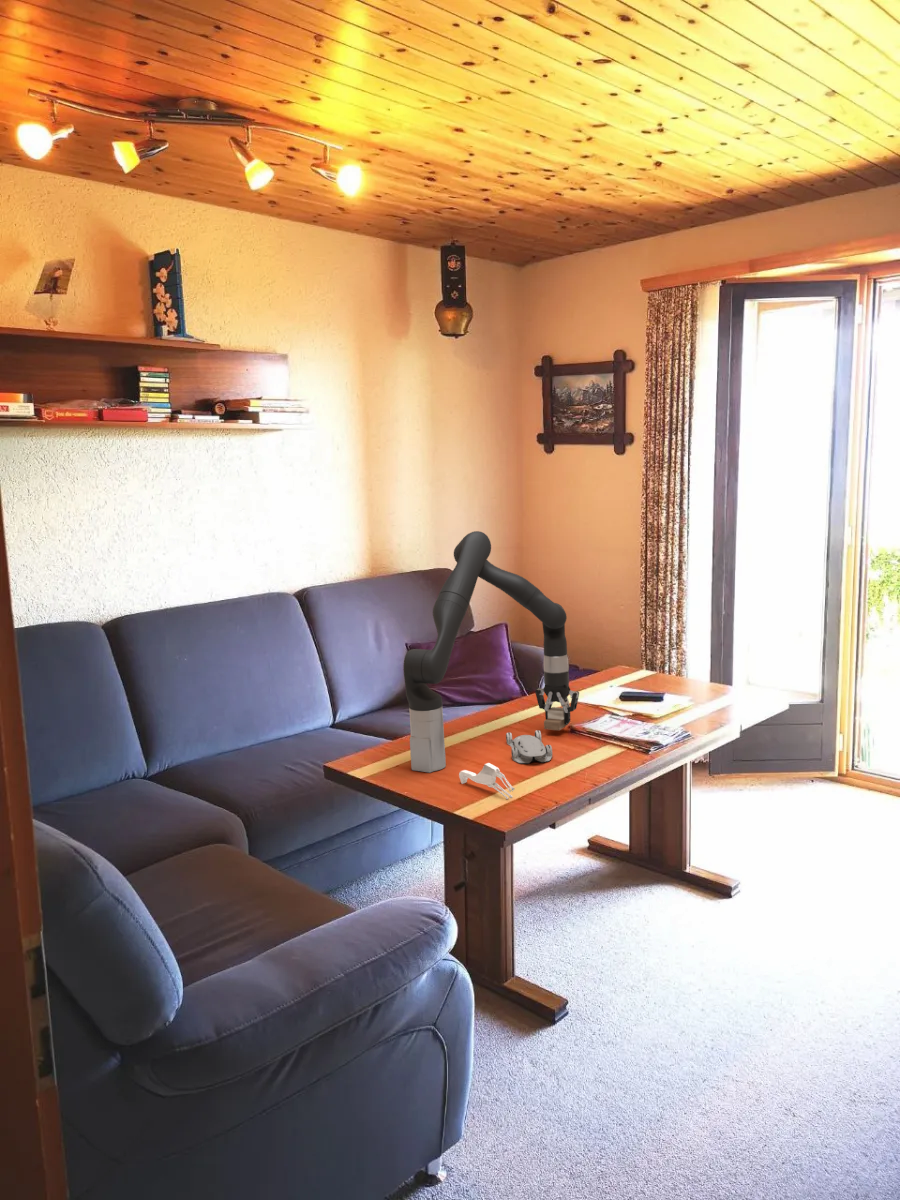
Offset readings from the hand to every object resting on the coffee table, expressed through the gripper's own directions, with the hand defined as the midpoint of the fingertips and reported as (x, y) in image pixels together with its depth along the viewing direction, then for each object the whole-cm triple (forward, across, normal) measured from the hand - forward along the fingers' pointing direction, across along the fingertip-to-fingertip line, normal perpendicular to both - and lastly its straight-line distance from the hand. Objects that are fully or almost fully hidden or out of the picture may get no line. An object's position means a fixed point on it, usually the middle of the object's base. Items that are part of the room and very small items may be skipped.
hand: (558, 722), depth 283 cm
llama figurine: (+3, +2, -54) cm, 54 cm away
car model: (+3, 0, -21) cm, 22 cm away
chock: (+1, 0, -1) cm, 2 cm away
